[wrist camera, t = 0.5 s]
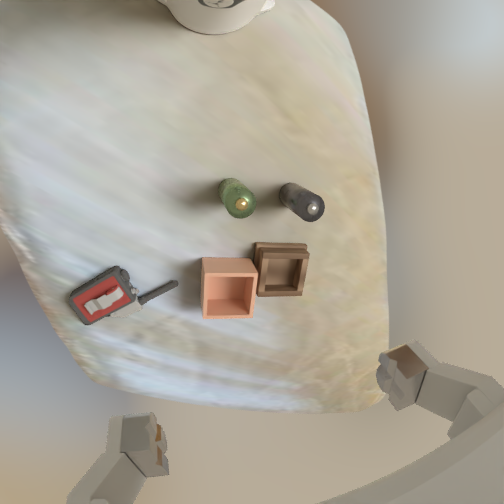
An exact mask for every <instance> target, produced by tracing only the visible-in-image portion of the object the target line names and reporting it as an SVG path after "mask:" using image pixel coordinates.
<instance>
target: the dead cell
mask: <svg viewBox="0 0 504 504" xmlns="http://www.w3.org/2000/svg"><path fill="white" fill-rule="evenodd" d="M279 198H280V201H281V202H282V203H283V204H284V205H285V206H286V207H288V208H289V209H290V210H292V211H293V212H294V213H295V214H297V215H298V216H299V217H301V218H302V219H303V220H305V221H307V222H313V221H316V220H318V219H319V218H320V217H321V216H322V215H323V212H324V209H325V205H324V201H323V200H322V198H321V197H320V196H318V195H316V194H314V193H312V192H311V191H309V190H307V189H305V188H303V187H301V186H299V185H297V184H295V183H288V184H286V185H284V186H283V187H282V188H281V190H280V193H279Z"/></svg>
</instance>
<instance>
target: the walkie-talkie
mask: <svg viewBox="0 0 504 504" xmlns="http://www.w3.org/2000/svg"><path fill="white" fill-rule="evenodd" d="M129 280H130V277H129V274H128V272H127V271H126V270H124V269H123V270H121V268H120V267H119V266H114V267H113V268H111V269H109V270H108V271H106V272H104V273H102V274H101V275H99V276H97V277H96V278H94V279H92V280H90V281H89V282H87V283H85V285H83V286H81V287H79V288H77V289H76V290H74V291H73V292H72V293H71V295H70V297H69V304H70V306H71V307H72V308H73V310H74V311H75V312H76V314H77V315H78V316H79V317H80V319H81V320H82V321H83V323H84V324H85V325H91V324H93V323H95V322H96V321H98V320H100V319H102V318H104V317H106V316H111V317H121V318H124V317H126V316H128V315H130V314H132V313H134V312H136V311H140V310H142V307H143V304H145V303H147V301H149V300H151V299H153V298H155V297H157V296H159V295H161V294H163V293H165V292H167V291H169V290H170V289H172V288H174V287H176V286H178V282H177V281H173V282H171V283H169V284H167V285H165V286H163V287H161V288H159V289H157V290H155V291H153V292H152V293H150V294H148V295H146V296H142V297H140V298H138V297H137V293H139V290H138V289H137V288H136V289H135V288H134V287H133V286H132V285H131V283H130V282H129Z"/></svg>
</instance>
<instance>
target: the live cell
mask: <svg viewBox="0 0 504 504" xmlns="http://www.w3.org/2000/svg"><path fill="white" fill-rule="evenodd" d="M218 193H219V196H220V198H221V200H222V202H223V203H224V205H225V207H226V209H227V211H228V212H229V214H230V215H232V216H233V217H235V218H246V217H248V216H250V215H251V214H252V213H253V212H254V210H255V207H256V198H255V196H254V195H253V193H252V192H251V191H250V190H248V189H247V188H246V187H245V186H244V185H243V184H242V183H241V182H240V181H239V180H237V179H234V178H228V179H226V180H224V181H223V182H222V183H221V184H220V186H219V189H218Z"/></svg>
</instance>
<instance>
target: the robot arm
mask: <svg viewBox="0 0 504 504" xmlns="http://www.w3.org/2000/svg"><path fill="white" fill-rule="evenodd" d="M158 1H159V2H161V3H162V4H164V5H166V6H167V7H168V8H169V9H170V11H171V13H172V14H173V16H174V17H175V18H176V20H177V21H178V22H179V23H181V24H182V25H183V26H185V27H187V28H188V29H191V30H193V31H196V32H199V33H204V34H224V33H229V32H233V31H235V30H238V29H240V28H242V27H243V26H245V25H246V24H248V23H249V22H250V21H251V20H252V19H253V18H254V17H255V16H257V15H258V14H261V13H264V12H267V11H269V10H271V9H272V8H273V7H274V4H275V1H274V0H158ZM378 361H379V362H380V363H381V365H380V366H379V367H378V369H377V373H376V377H377V382H378V385H379V387H380V388H381V390H382V391H383V392H385V393H388V394H389V401H390V402H391V404H392V405H393V406H394V407H395V409H396V410H397V411H398V410H401V409H403V408H405V407H408V406H410V405H412V404H414V403H416V404H417V405H419V406H421V407H423V408H425V409H427V410H429V411H431V412H433V413H435V414H437V415H439V416H441V417H444V418H446V419H448V420H450V421H452V422H453V423H452V425H451V427H450V429H449V430H448V436H449V437H450V439H451V440H450V441H448V442H447V443H445V444H444V445H442V446H440V447H439V448H437V449H435V450H434V451H432V452H430V453H429V454H427V455H425V456H423V457H422V458H420V459H418V460H416V461H414V462H413V463H411V464H409V465H407V466H405V467H403V468H401V469H399V470H397V471H395V472H393V473H391V474H389V475H387V476H385V477H383V478H380V479H378V480H376V481H374V482H372V483H370V484H367V485H365V486H362V487H360V488H358V489H355V490H353V491H350V492H348V493H345V494H342V495H340V496H337V497H335V498H332V499H329V500H326V501H323V502H320V503H317V504H504V388H503V387H502V386H501V385H500V384H499V383H498V382H497V381H496V380H495V379H494V378H493V377H491V376H487V375H484V374H481V373H478V372H474V371H471V370H467V369H464V368H460V367H457V366H454V365H450V364H447V363H444V362H442V363H439V362H438V361H437V360H436V359H435V358H434V357H433V356H432V355H431V354H430V353H429V352H428V351H427V350H426V349H425V348H424V347H423V346H422V345H421V344H420V343H419V342H418V341H417V340H415V339H414V340H411V341H409V342H407V343H404V344H401V345H399V346H397V347H394V348H392V349H390V350H387V351H385V352H382V353H381V354H380V356H379V360H378ZM156 421H157V420H156V417H155V415H154V413H152V412H151V413H141V414H129V415H117V416H111V418H110V420H109V427H108V435H107V445H106V453H104V454H101V455H100V457H99V458H98V459H97V460H96V462H95V463H94V464H93V465H92V467H91V468H90V469H89V470H88V471H87V473H86V474H85V475H84V476H83V477H82V479H81V480H80V481H79V482H78V484H77V485H76V486H75V487H74V488H73V489H72V491H71V492H70V493H69V494H68V496H67V504H133V502H134V501H135V499H136V497H137V495H138V493H139V492H140V490H141V488H142V486H143V484H144V483H145V481H146V479H147V478H146V477H156V476H164V475H169V468H168V459H167V457H166V456H165V455H164V453H165V452H166V450H167V441H166V437H165V433H164V431H163V429H162V427H161V425H159V424H157V422H156Z"/></svg>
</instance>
